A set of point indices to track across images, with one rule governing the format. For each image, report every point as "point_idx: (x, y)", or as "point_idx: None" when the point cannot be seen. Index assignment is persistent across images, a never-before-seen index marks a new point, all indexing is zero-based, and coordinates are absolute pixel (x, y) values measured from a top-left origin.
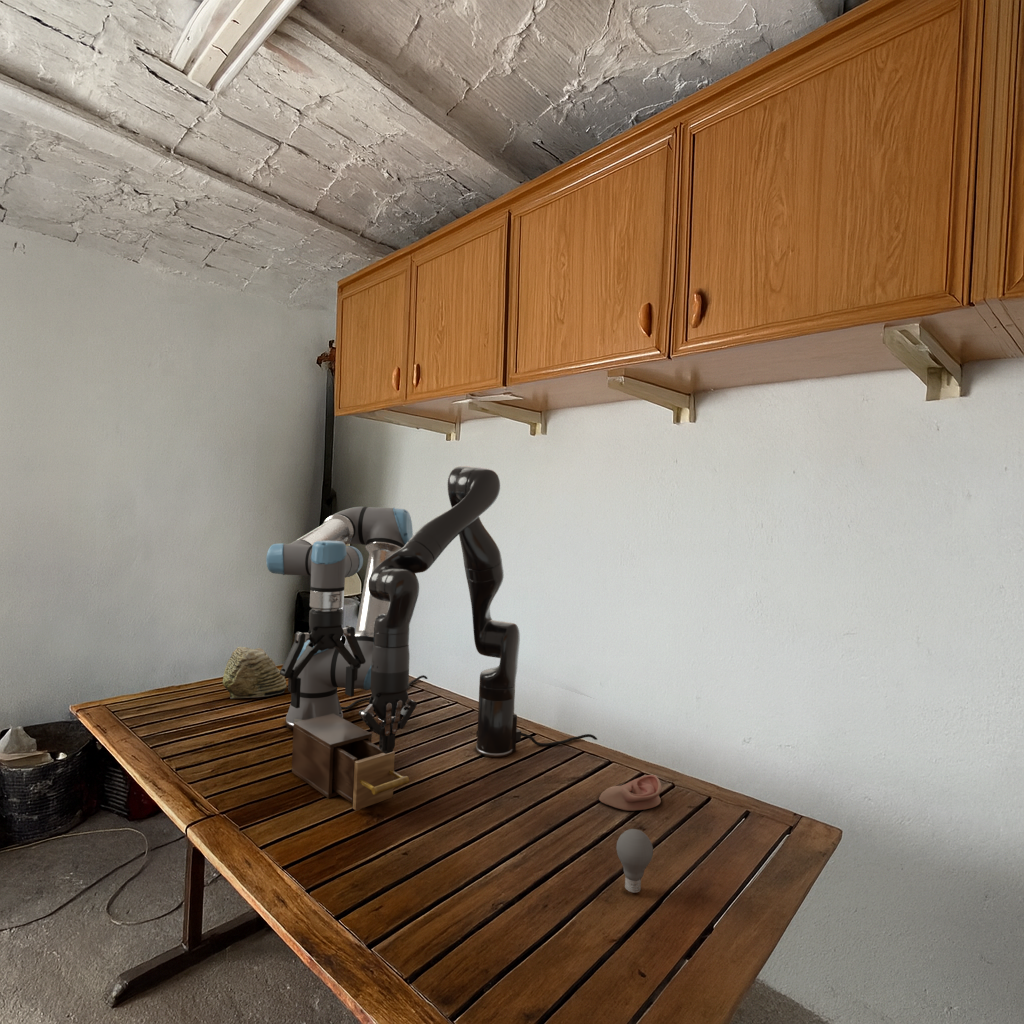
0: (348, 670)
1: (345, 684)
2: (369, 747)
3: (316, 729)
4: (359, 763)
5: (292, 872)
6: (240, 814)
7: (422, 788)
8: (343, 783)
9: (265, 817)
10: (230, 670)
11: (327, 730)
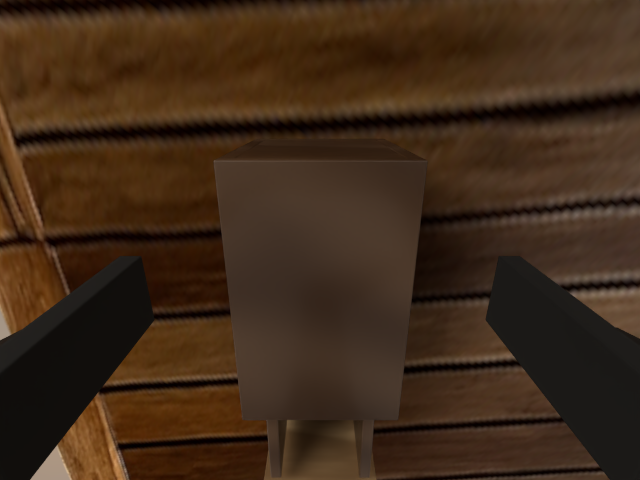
0: (625, 416)
1: (535, 287)
2: (361, 423)
3: (263, 291)
4: None
5: (127, 460)
6: (85, 271)
7: (441, 389)
8: None
9: None
10: None
11: (293, 322)
